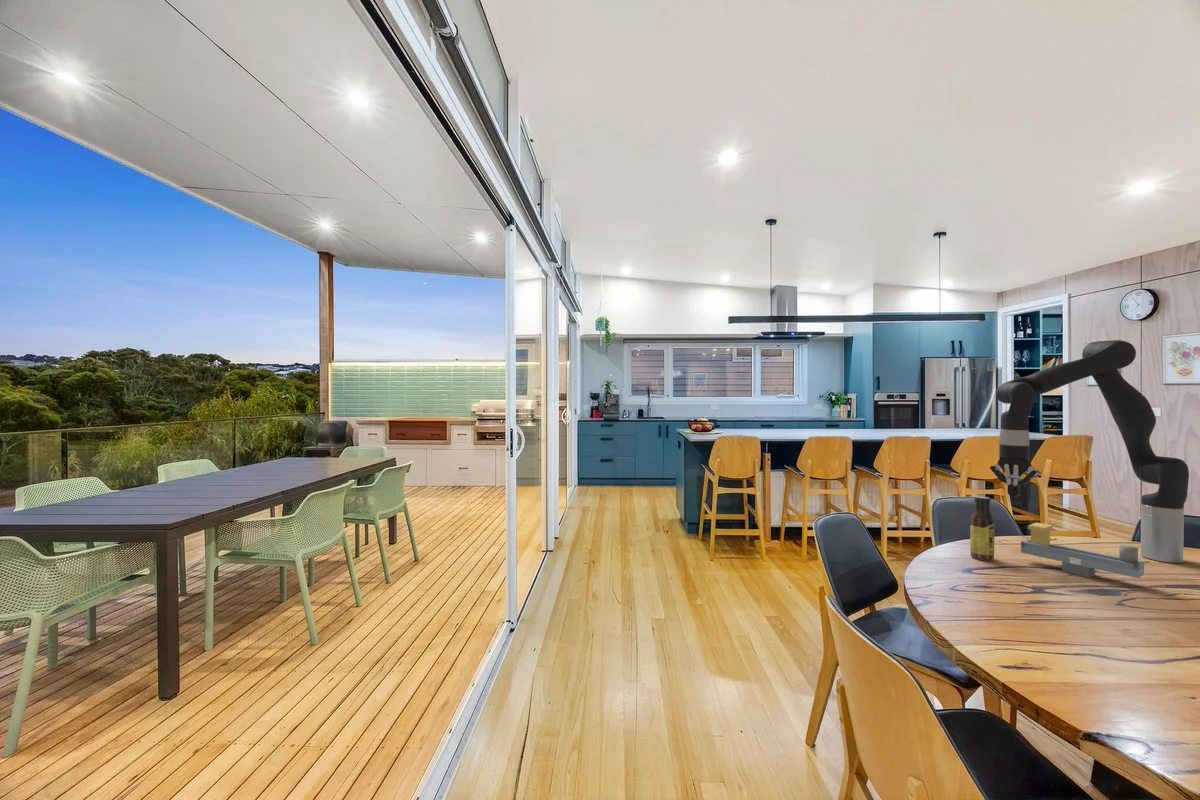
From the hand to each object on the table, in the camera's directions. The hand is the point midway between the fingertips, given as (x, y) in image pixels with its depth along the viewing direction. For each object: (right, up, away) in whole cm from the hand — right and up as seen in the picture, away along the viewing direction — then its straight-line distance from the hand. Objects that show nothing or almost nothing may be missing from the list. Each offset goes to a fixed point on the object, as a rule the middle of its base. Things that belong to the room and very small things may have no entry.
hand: (1013, 496), depth 163 cm
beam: (+8, -20, -14) cm, 26 cm away
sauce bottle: (-10, -20, 0) cm, 23 cm away
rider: (+4, -15, -6) cm, 17 cm away
